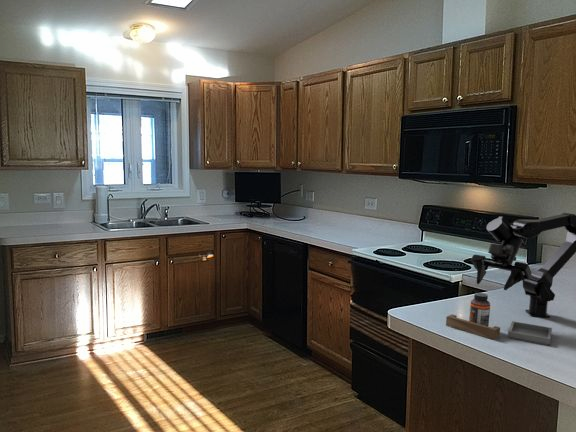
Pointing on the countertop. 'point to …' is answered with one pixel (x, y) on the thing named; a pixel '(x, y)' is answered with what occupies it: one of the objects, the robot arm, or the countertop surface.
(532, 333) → the grey square tray
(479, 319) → the supplement bottle
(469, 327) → the wooden dock
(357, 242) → the countertop surface
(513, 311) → the countertop surface
